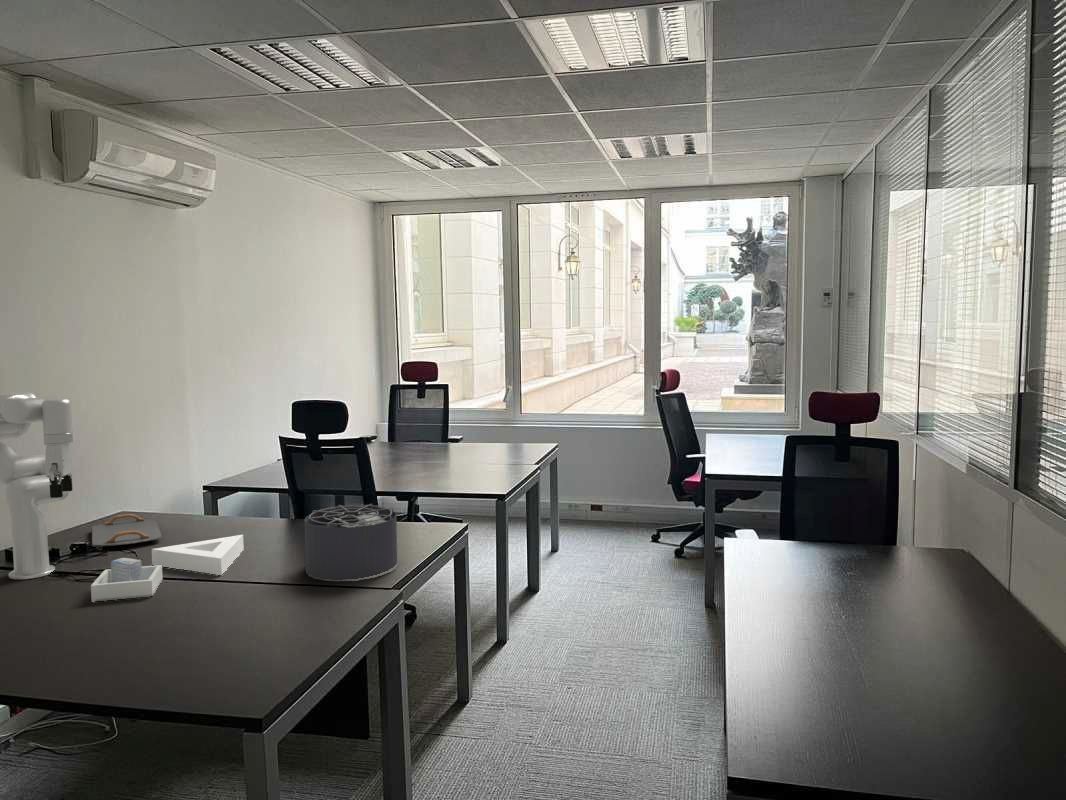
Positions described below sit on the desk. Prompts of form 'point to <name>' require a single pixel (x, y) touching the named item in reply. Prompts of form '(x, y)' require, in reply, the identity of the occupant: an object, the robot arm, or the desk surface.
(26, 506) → the robot arm
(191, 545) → the triangular ruler
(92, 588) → the box
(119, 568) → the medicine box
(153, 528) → the serving board
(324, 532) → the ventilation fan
